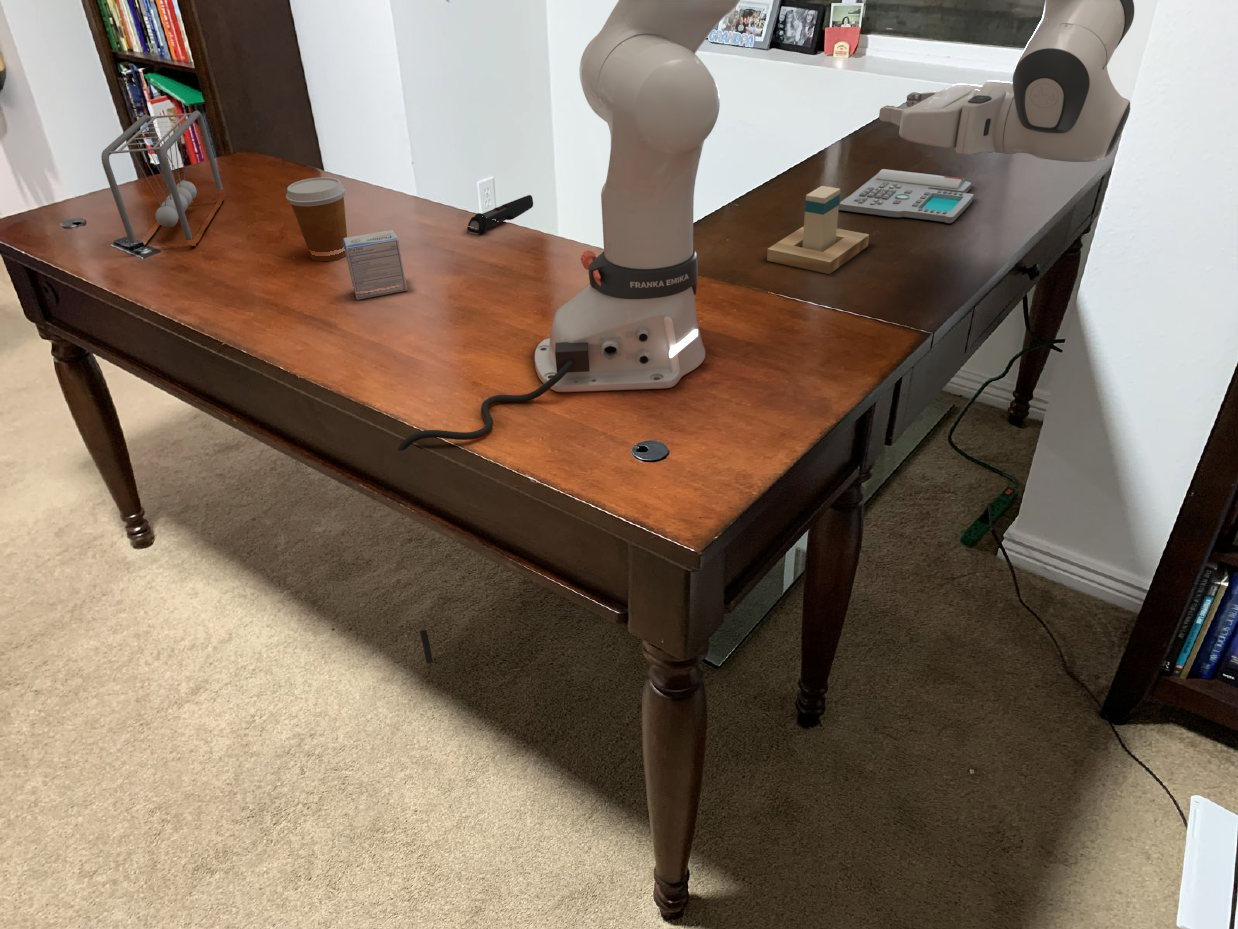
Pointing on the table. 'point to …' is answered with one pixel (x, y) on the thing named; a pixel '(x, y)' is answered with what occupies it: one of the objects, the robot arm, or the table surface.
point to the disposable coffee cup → (320, 214)
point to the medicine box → (375, 263)
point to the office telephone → (911, 196)
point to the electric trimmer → (499, 214)
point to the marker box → (821, 218)
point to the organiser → (823, 262)
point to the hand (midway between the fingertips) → (895, 105)
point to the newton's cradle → (178, 194)
